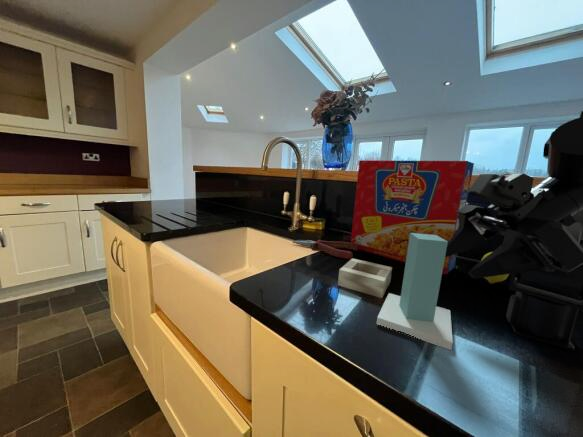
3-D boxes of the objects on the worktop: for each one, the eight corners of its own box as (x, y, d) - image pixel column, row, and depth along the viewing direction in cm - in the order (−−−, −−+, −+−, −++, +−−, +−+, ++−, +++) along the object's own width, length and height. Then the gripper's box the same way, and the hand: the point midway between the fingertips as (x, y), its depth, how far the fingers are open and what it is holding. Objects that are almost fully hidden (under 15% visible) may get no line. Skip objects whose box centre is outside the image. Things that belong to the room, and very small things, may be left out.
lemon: (503, 282, 59) (510, 250, 57) (509, 291, 54) (517, 256, 52) (475, 276, 61) (481, 245, 60) (478, 284, 57) (485, 251, 55)
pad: (448, 316, 42) (450, 310, 42) (451, 350, 34) (452, 342, 33) (387, 298, 47) (388, 292, 47) (376, 324, 39) (377, 317, 38)
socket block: (390, 282, 55) (392, 267, 54) (382, 298, 47) (384, 281, 47) (350, 272, 59) (352, 258, 59) (337, 285, 52) (339, 269, 51)
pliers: (300, 240, 87) (301, 233, 86) (358, 251, 79) (359, 243, 78) (286, 249, 76) (287, 241, 76) (351, 262, 68) (352, 253, 68)
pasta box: (350, 246, 81) (359, 160, 76) (362, 243, 87) (371, 162, 82) (446, 274, 62) (467, 160, 57) (454, 267, 67) (474, 163, 62)
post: (423, 308, 42) (436, 235, 40) (433, 322, 38) (447, 241, 36) (399, 305, 42) (410, 232, 40) (406, 318, 39) (418, 238, 36)
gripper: (479, 159, 43) (404, 215, 47) (583, 147, 25) (448, 239, 29) (519, 207, 44) (442, 259, 47) (652, 229, 25) (509, 310, 29)
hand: (455, 264), depth 38 cm, fingers open, 9 cm apart
